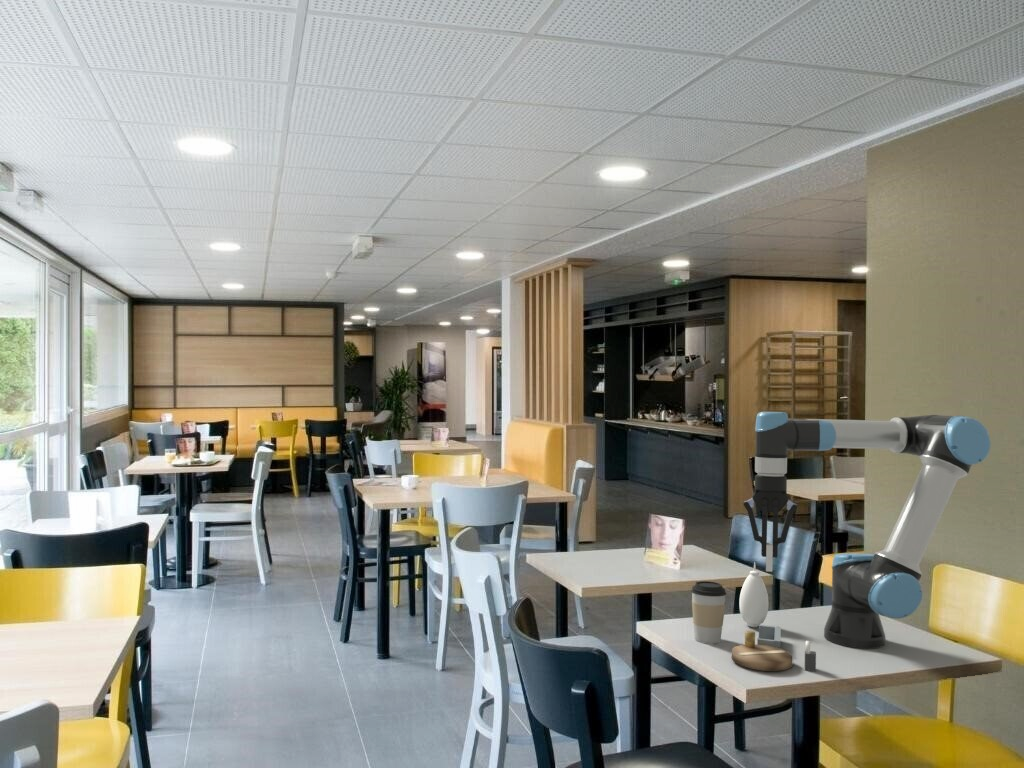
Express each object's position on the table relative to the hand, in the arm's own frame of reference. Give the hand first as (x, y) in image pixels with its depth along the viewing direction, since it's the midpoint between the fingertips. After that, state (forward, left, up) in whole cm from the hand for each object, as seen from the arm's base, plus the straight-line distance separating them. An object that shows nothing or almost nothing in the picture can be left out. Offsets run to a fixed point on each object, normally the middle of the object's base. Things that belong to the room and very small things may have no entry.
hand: (769, 570), depth 206 cm
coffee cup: (+15, -10, -22) cm, 29 cm away
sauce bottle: (+4, -28, -22) cm, 36 cm away
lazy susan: (+1, +5, -22) cm, 22 cm away
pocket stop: (0, -10, -22) cm, 24 cm away
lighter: (-10, +5, -22) cm, 24 cm away
